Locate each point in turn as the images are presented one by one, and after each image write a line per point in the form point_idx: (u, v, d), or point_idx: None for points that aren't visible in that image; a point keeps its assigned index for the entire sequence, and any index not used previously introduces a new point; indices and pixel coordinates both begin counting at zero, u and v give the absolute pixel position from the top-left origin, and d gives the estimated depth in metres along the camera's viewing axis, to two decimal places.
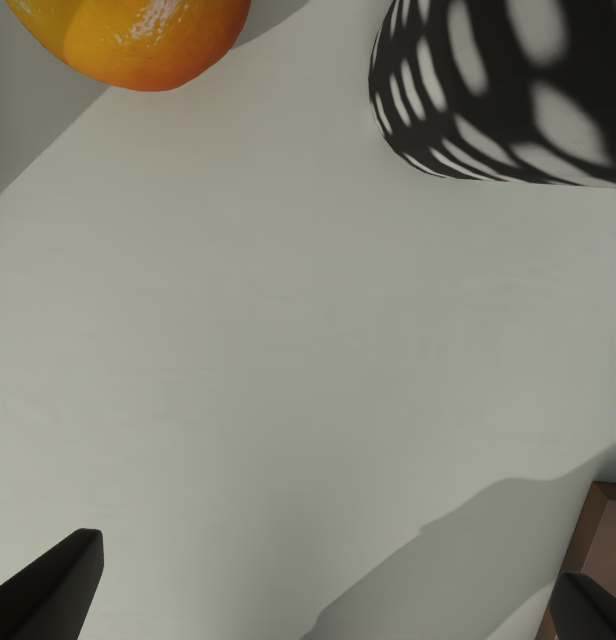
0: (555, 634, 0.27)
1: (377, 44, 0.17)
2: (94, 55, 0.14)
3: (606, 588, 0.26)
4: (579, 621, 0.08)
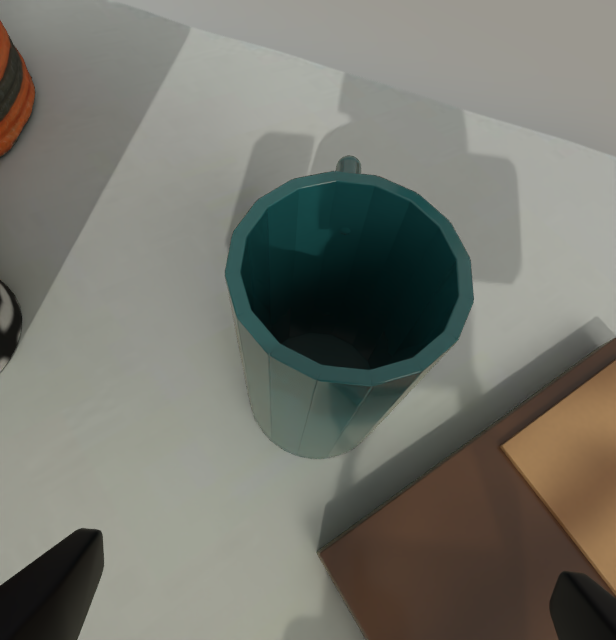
0: None
1: None
2: None
3: None
4: (579, 621, 0.08)
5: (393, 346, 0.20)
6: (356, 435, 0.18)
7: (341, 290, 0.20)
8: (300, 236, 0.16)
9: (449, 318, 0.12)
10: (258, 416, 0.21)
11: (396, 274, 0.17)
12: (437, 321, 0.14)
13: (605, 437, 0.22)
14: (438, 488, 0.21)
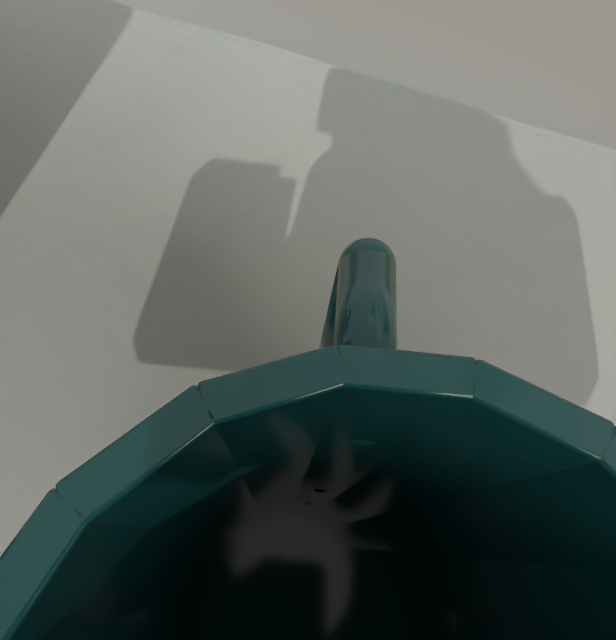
0: None
1: None
2: None
3: None
4: None
5: (455, 602, 0.10)
6: None
7: (349, 482, 0.10)
8: (248, 464, 0.06)
9: None
10: None
11: (486, 528, 0.07)
12: None
13: None
14: None
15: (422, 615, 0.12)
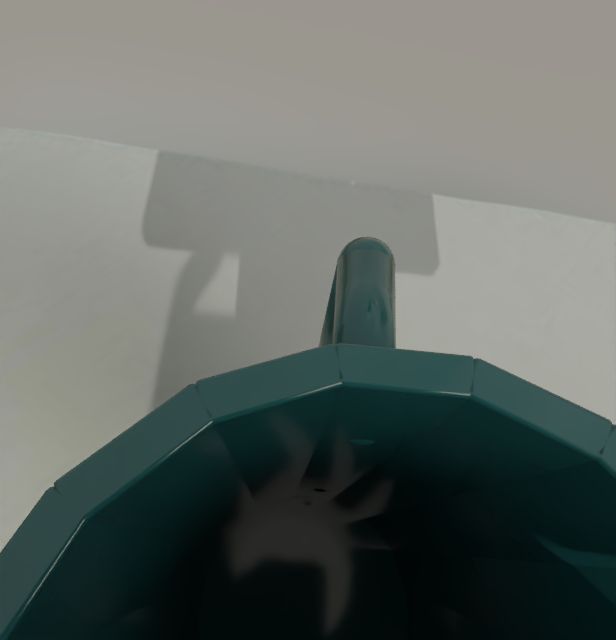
0: None
1: None
2: None
3: None
4: None
5: (454, 601, 0.10)
6: None
7: (348, 481, 0.10)
8: (247, 463, 0.06)
9: None
10: None
11: (484, 527, 0.07)
12: None
13: None
14: None
15: (421, 614, 0.12)
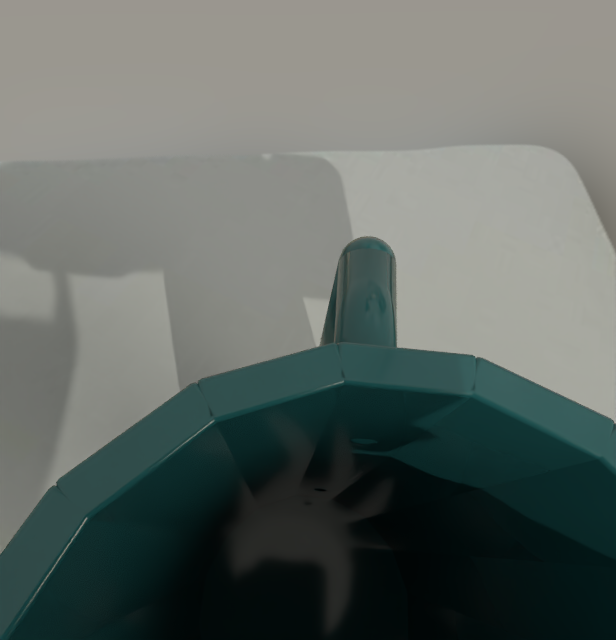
0: None
1: None
2: None
3: None
4: None
5: (455, 601, 0.10)
6: None
7: (349, 481, 0.10)
8: (248, 462, 0.06)
9: None
10: None
11: (486, 526, 0.07)
12: None
13: None
14: None
15: (422, 614, 0.12)
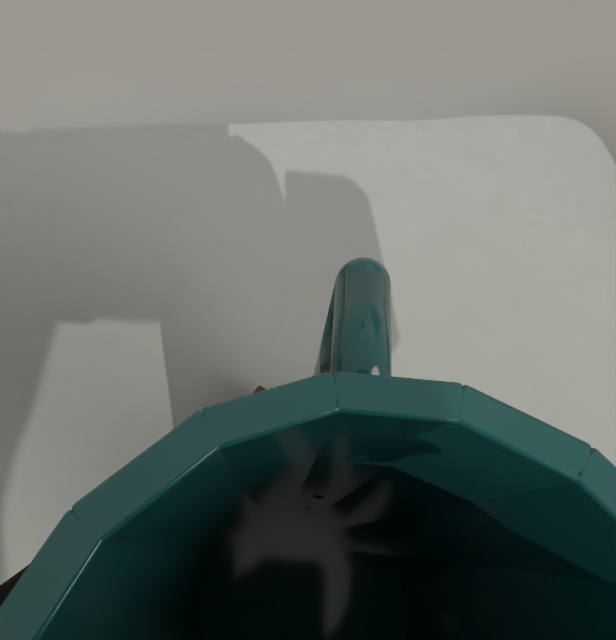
0: None
1: None
2: None
3: None
4: None
5: (450, 606, 0.10)
6: None
7: (347, 490, 0.11)
8: (249, 478, 0.07)
9: None
10: None
11: (477, 537, 0.07)
12: None
13: None
14: None
15: (419, 618, 0.13)
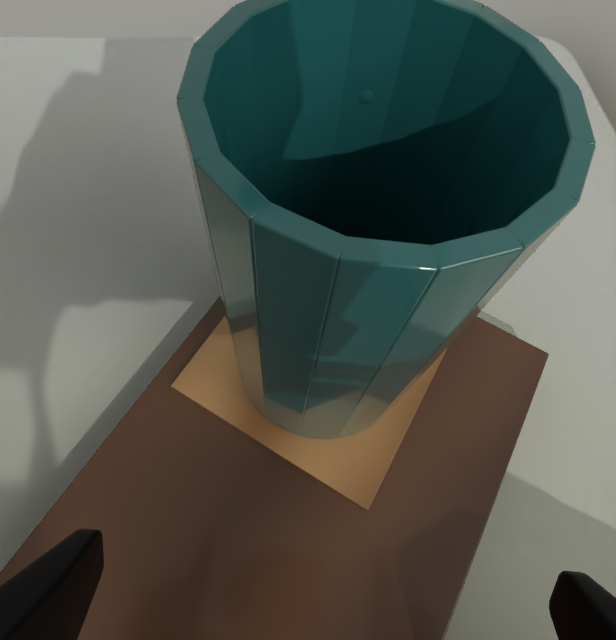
0: None
1: None
2: None
3: None
4: (579, 621, 0.08)
5: None
6: (382, 399, 0.13)
7: (356, 211, 0.15)
8: (302, 104, 0.11)
9: (559, 170, 0.07)
10: (247, 381, 0.16)
11: (439, 166, 0.12)
12: (517, 206, 0.09)
13: None
14: (105, 470, 0.17)
15: None
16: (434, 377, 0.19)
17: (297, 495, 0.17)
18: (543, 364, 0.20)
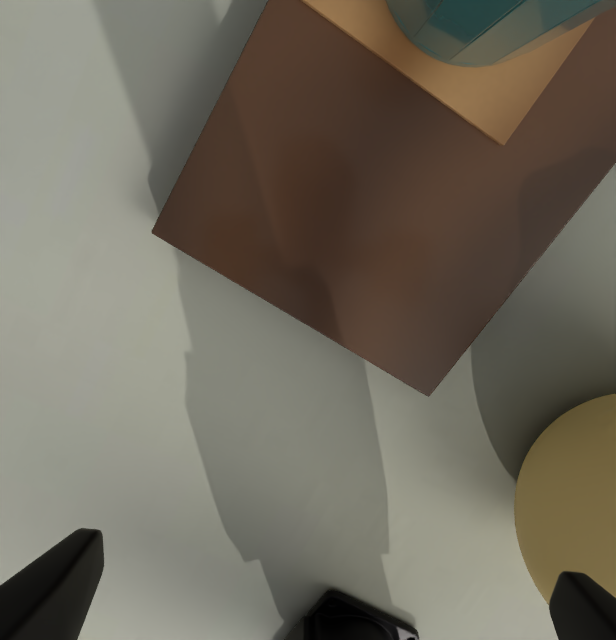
0: (359, 355, 0.20)
1: None
2: None
3: (302, 274, 0.19)
4: (579, 621, 0.08)
5: None
6: (589, 16, 0.11)
7: None
8: None
9: None
10: None
11: None
12: None
13: None
14: (241, 100, 0.17)
15: None
16: None
17: (433, 129, 0.17)
18: None
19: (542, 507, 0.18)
